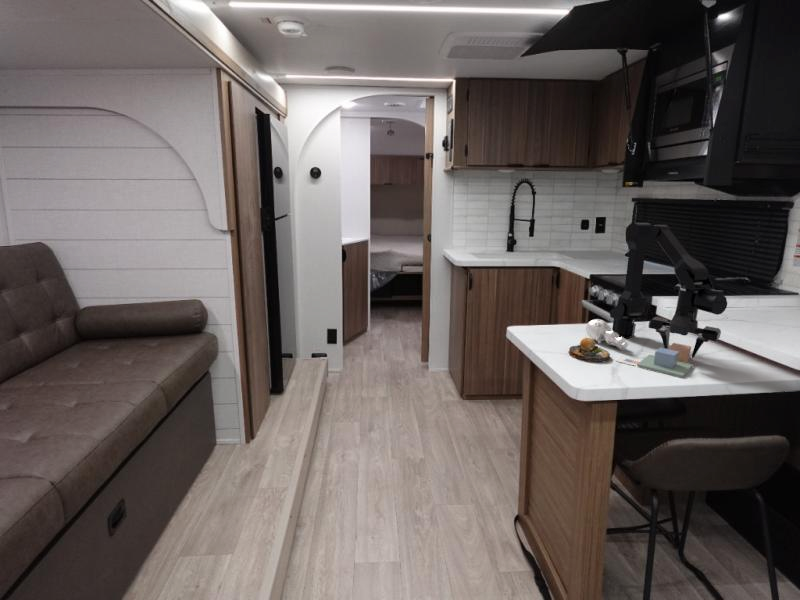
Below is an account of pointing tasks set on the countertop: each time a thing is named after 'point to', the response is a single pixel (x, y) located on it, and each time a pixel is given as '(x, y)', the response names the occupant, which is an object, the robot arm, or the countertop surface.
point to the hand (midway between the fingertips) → (679, 354)
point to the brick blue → (666, 357)
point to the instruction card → (629, 361)
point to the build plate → (678, 370)
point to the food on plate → (589, 351)
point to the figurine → (605, 334)
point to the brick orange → (681, 351)
